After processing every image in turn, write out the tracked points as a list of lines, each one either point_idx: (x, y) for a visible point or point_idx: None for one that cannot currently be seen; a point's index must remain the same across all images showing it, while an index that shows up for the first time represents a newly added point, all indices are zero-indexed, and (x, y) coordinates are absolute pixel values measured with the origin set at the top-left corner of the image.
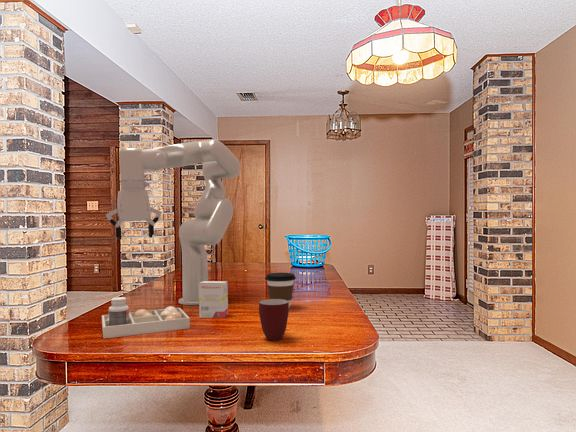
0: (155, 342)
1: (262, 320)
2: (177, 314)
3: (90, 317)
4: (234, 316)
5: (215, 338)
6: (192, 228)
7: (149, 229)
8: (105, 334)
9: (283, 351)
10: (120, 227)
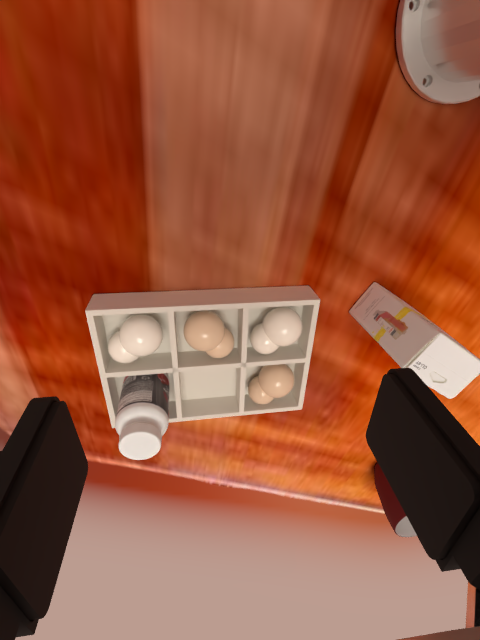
0: (216, 438)
1: (381, 500)
2: (283, 396)
3: (13, 118)
4: (427, 317)
5: (313, 443)
6: None
7: (411, 504)
8: None
9: (360, 503)
10: (23, 599)
